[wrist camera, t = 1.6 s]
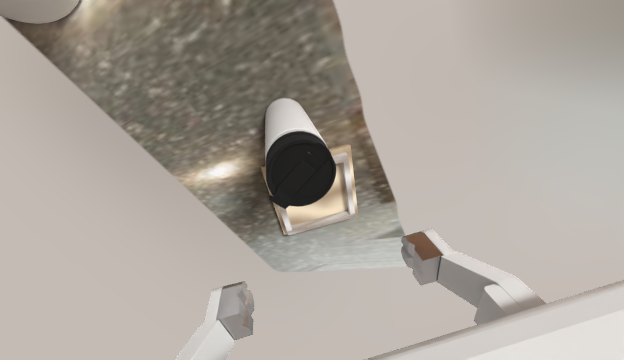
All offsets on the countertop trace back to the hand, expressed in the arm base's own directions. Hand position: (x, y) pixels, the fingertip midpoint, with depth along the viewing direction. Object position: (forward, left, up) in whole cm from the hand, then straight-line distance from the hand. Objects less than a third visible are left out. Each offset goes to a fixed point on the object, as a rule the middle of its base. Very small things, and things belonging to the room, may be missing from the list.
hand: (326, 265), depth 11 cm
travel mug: (0, 0, -29) cm, 29 cm away
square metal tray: (+15, +2, -29) cm, 32 cm away
